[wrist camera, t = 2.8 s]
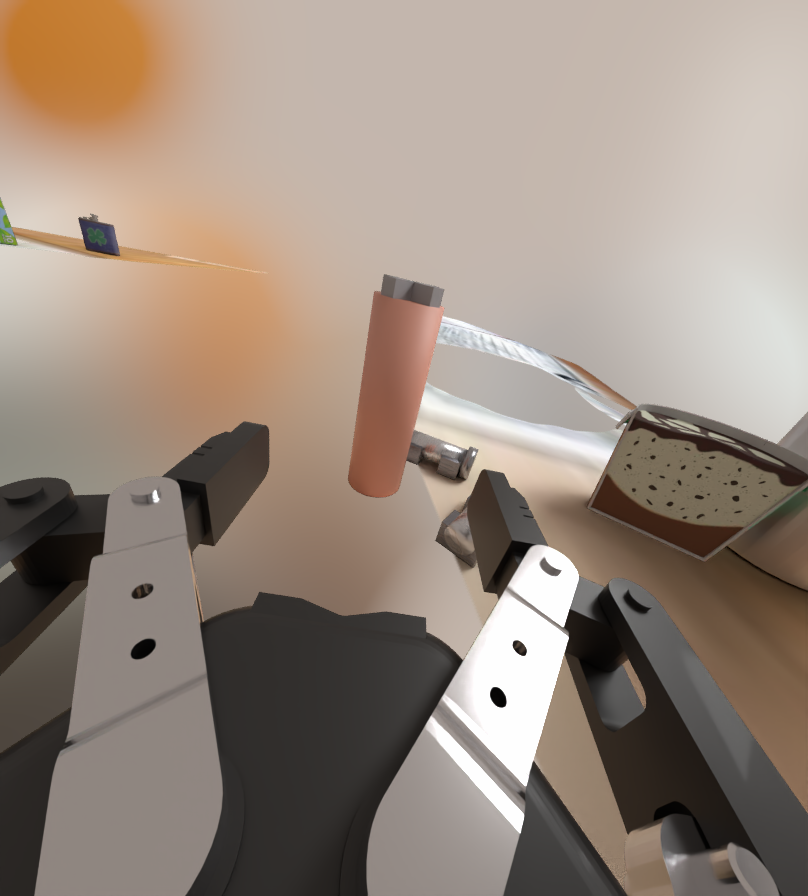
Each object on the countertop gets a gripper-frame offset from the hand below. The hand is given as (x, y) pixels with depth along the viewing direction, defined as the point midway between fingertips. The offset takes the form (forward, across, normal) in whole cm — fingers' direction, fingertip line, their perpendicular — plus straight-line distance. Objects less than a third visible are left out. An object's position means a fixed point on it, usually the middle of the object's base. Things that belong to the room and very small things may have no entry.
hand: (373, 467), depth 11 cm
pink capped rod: (+11, 0, +9) cm, 14 cm away
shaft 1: (+16, -6, +9) cm, 19 cm away
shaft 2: (+7, -8, +9) cm, 14 cm away
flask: (+110, +105, +9) cm, 152 cm away
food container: (+13, -26, +9) cm, 30 cm away
